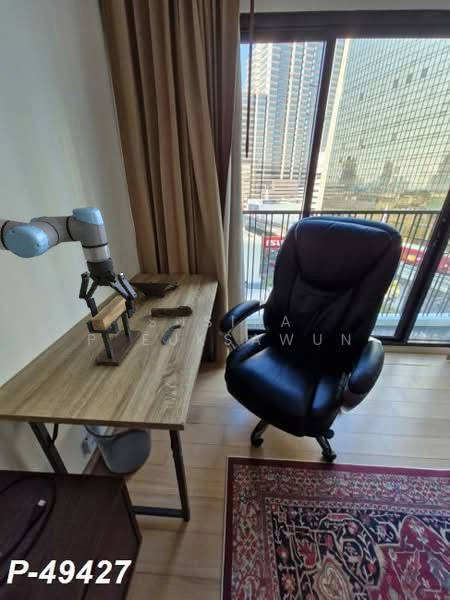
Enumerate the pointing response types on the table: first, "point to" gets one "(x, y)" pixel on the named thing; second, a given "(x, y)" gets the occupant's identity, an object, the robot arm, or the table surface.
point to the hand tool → (171, 311)
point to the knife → (170, 333)
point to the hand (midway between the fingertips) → (113, 316)
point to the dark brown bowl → (152, 288)
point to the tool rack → (116, 341)
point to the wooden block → (109, 314)
